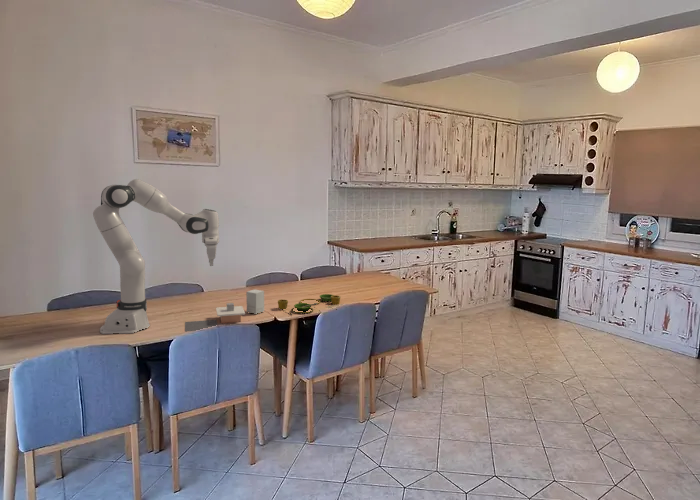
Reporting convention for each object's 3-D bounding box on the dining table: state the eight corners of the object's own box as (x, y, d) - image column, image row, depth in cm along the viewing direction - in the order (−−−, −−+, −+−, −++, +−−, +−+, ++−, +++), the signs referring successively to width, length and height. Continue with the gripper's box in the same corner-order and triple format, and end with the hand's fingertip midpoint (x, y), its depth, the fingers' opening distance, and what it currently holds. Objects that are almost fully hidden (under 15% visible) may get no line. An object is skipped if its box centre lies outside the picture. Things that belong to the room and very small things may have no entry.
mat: (184, 332, 228) (184, 331, 228) (185, 322, 243) (185, 321, 243) (218, 329, 233) (218, 329, 233) (216, 320, 248) (216, 319, 248)
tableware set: (289, 317, 259) (289, 306, 258) (270, 305, 282) (270, 295, 281) (351, 308, 281) (352, 298, 280) (329, 298, 304) (329, 288, 303)
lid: (217, 316, 239) (217, 308, 239) (215, 309, 252) (215, 301, 252) (245, 314, 244) (245, 306, 243) (242, 307, 257) (242, 299, 256)
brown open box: (221, 324, 242) (221, 315, 242) (220, 318, 252) (219, 309, 251) (240, 322, 246) (240, 313, 245) (238, 317, 255) (238, 308, 254)
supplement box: (264, 312, 266) (264, 290, 264) (255, 315, 260) (255, 293, 258) (255, 310, 270) (254, 289, 268) (246, 313, 264) (246, 291, 262)
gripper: (203, 236, 259) (204, 261, 261) (205, 241, 240) (205, 267, 242) (215, 236, 261) (215, 260, 263) (217, 241, 242) (218, 267, 244)
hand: (211, 264), depth 252 cm, fingers open, 8 cm apart
